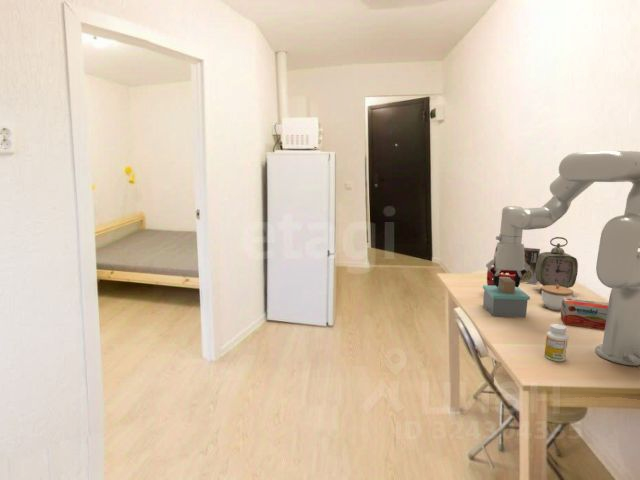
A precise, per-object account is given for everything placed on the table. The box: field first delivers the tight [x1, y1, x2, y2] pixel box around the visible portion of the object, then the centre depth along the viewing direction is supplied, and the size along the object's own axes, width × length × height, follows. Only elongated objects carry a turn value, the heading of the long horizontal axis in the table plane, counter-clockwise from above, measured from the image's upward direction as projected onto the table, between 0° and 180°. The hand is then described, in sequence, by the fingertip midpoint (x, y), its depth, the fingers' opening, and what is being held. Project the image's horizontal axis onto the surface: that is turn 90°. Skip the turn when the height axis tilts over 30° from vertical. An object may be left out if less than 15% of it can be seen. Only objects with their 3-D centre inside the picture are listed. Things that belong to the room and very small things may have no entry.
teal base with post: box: [482, 277, 531, 301], centre depth 161 cm, size 13×13×7 cm
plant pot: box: [486, 266, 521, 288], centre depth 179 cm, size 13×13×12 cm
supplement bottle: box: [544, 323, 569, 362], centre depth 124 cm, size 5×5×10 cm
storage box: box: [482, 289, 529, 318], centre depth 163 cm, size 12×12×7 cm
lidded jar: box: [541, 285, 574, 311], centre depth 167 cm, size 11×11×9 cm
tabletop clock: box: [536, 236, 579, 294], centre depth 186 cm, size 14×9×25 cm, turn 80°
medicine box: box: [560, 298, 609, 331], centre depth 151 cm, size 15×8×8 cm, turn 69°
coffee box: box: [520, 247, 541, 285], centre depth 204 cm, size 9×6×16 cm
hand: (506, 285), depth 161 cm, fingers open, 6 cm apart
